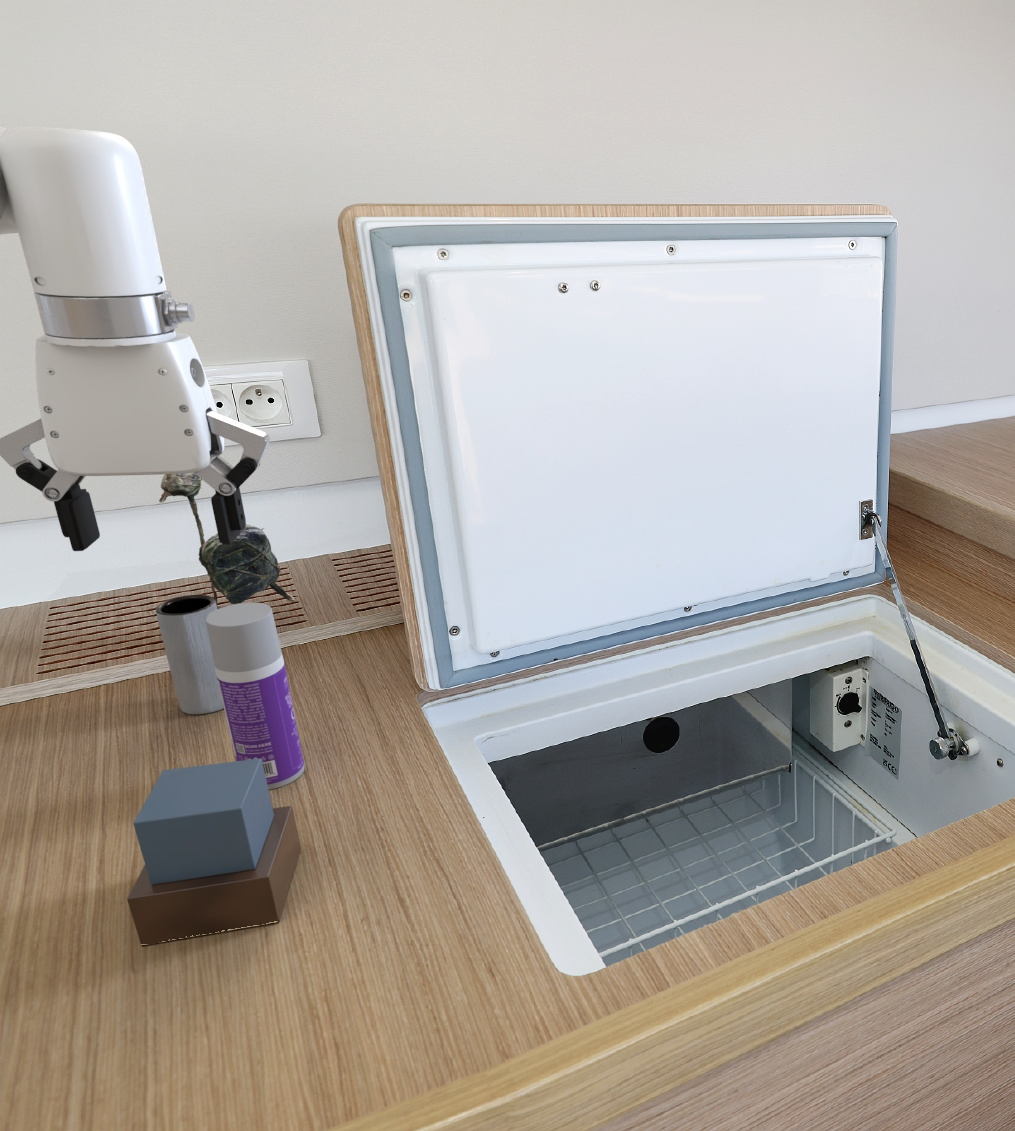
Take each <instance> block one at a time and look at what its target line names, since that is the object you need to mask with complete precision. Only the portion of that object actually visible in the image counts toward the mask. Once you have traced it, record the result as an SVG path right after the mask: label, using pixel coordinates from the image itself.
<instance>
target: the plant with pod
mask: <svg viewBox="0 0 1015 1131" xmlns="http://www.w3.org/2000/svg"><path fill="white" fill-rule="evenodd" d="M202 481H203V480H202V479H201V478H200V477H198V476H197V475H196V474H195V473H184V474H163V476H162V479H161V482H160V488H161V490H163V492H162V493H161V495H160V496H161V497H160V498H159V499H158V500H159V503H164V502H165V501H166V500H167V498H168V497H184V498H185V497H186V498H187V499H188V502H189V505H190V508H191V512H192V514H193V516H194V520H195V523H196V527H197V531H198V535H199V541H200V542H199V543H200V547H199V548H198V556H199V557H198V561H199V563H200V565H201V566H203V567H204V568H205V571H206V573H207V576H208V577H209V582H210V583H211V584H210V586H211V590H212V593H213V598H214V599H215V601H216V605H217V609H220V608H222V607H226V606H227V605H218V594H217V591H218V592H219V593H221V594H222V595H223V596H224V598H225V599H226V600H227V601H228V602H229V604H230V605H234V604H239V603H244V602H245V601H247V600H249V599H250V598H251V597H253V596H254V595H255V594H257V593H261V592H264V591H265V590H267V589H268V588H269V587H270V589H271V590H273V591H274V592H276V593H277V594H278V595H280V596H281V597H283V598H284V599H286V600H287V601H289V602H292V603H294V602H295V598H294V597H293V595H291V594H289V593H287V591H286V590H285V589H284V588H282V587H281V586H280V585H278V584H277V581H278V579H279V578H280V576H281V571H282V570H281V566H279V563H278V562H279V561H278V559H277V557H276V554H274V552H273V551H272V544H271V543H270V540H269V538H268V536H267V534H266V533H265V532H264V529H265V527H263V528H260V527H257V526H254V525H251V524H248V523H246V526H245V528H244V529H243V530H241V532H240V534H239V535H238V537H237V538H236V539H235V540H234V542H233V543H232V544H225V545H224V544H223V543H220V541H219V537H218V532H217V533H215V534H214V535H212V536H210V537H209V538H208V539H207V540H205V538H204V537H205V533H204V529H203V524H202V521H201V519H200V515H199V513H198V504H197V502H196V500H195V496H197V495H199V492H200V490H201V489H202V487H201V486H202Z"/></svg>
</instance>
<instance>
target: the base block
mask: <svg viewBox="0 0 1015 1131" xmlns="http://www.w3.org/2000/svg"><path fill="white" fill-rule="evenodd" d="M272 808H273V813H274V817H273V820H272V823H271V826H270V828H269V831H268V834H267V837H266V840H265V842H264V845H263V848H262V851H261V854H260V857H259V859H258V862H257V865H256V868H255V869H253V870H247V871H240V872H233V873H227V874H220V875H214V876H207V877H201V878H194V879H188V880H181V881H175V882H168V883H162V884H155V885H151V883H150V880H149V876H148V873H147V869H146V866H145V864H144V865H143V867H142V869H141V871H140V873H139V875H138V877H137V879H136V881H134V882H135V883H134V884H133V887H132V888H131V890H130V893H129V894H128V896H127V897H126V898H127V899H126V900H127V904H128V907H129V910H130V914H131V916H132V920H133V923H134V927H135V930H136V933H137V937H138V941H139V943H140V945H141V944H153V943H159V942H162V941H168V940H169V939H170V940H172V939H179V938H185V937H186V936H187V937H190V936H192V935H193V936H196V935H199V934H200V935H202V934H209V933H215V932H218V931H219V932H221V931H222V930H225V931H227V930H228V929H235V928H241V927H247V926H253V925H262V924H266V923H269V922H274V921H278V920H279V919H280V920H281V918H280V915H281V916H282V914H283V911H282V909H283V910H284V908H283V906H284V907H285V904H286V901H285V899H286V900H287V898H288V893H289V890H290V887H291V884H292V880H293V877H294V873H295V870H296V867H297V865H298V861H299V856H300V854H301V850H302V847H301V841H300V837H299V832H298V827H297V823H296V817H295V813H294V808H293V806H292V805H287V806H279V807H272ZM284 903H285V904H284ZM281 913H282V914H281ZM159 944H160V943H159ZM153 945H154V944H153Z"/></svg>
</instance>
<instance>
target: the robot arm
mask: <svg viewBox="0 0 1015 1131" xmlns="http://www.w3.org/2000/svg"><path fill="white" fill-rule="evenodd" d="M7 234H8V235H9V234H18V237H19V240H20V244H21V248H22V252H23V255H24V260H25V262H26V266H27V270H28V274H29V278H30V281H31V285H32V290H33V292H34V293H33V294H34V298H35V303H36V306H37V310H38V313H39V317H40V321H41V325H42V330H43V333H44V335H41V336H40V337H38V338H36V339H35V381H36V382H35V383H36V391H37V399H38V408H39V412H40V418H38V419H37V420H35V421H33V422H30V423H28V424H26V425H24V426H22V427H21V428H18V429H16V430H14V431H12V432H10V433H8V434H6V435H4V436H2V437H0V457H1V458H2V459H3V460H4V461H5V463H7V464H8V465H9V466H10V468H13V469H14V471H15V474H16V476H17V477H18V478H19V479H21V480H22V481H24V482H26V483H27V484H28V485H30V486H32V487H33V488H35V489H37V490H38V491H40V492H42V496H43V498H44V499H45V500H47V501H49V502H53V504H54V508H55V512H56V515H57V519H58V522H59V527H60V530H61V534H62V536H63V537H64V538H68V539H69V542H70V547H71V550H72V551H73V552H83V551H85V550H86V549H88V548H89V547H90V546H91V545H93V544H94V543H95V542H96V541H98V539H100V537H101V534H100V528H99V525H98V521H97V518H96V514H95V509H94V506H93V502H92V498H91V494H90V493H89V491H87V489H86V488H81V485H80V484H81V483H82V482H83V480H84V479H85V478H86V477H113V476H114V477H115V476H116V477H117V476H118V477H119V476H120V477H121V476H151V475H152V476H155V475H156V476H157V475H164V474H184V473H195V474H196V475H197V476H198V477H200V478H201V479H202V480H201V481H203V482H205V483H206V484H207V485H208V486H210V487H211V488H212V489H214V491H215V493H214V495H213V496H212V497H211V499H210V502H211V507H212V512H213V518H214V520H215V521H214V522H215V527H216V531H217V533H218V537H219V541H220V543H223V544H224V545H225V544H232V543H233V542H234V540H235V539H236V538H237V537H238V535H239V534H240V532H241V530H243V529H244V528H245V526H246V524H247V520H246V514H245V510H244V509H245V508H244V505H243V499H242V493H241V488H240V487H241V486H242V485H243V484H244V483H246V481H247V480H248V479H249V478H250V477H251V476H252V474H253V473H255V472H256V470H258V468H259V467H260V466H261V463H262V460H263V458H264V455H265V454H266V451H267V449H268V446H269V444H270V441H271V436H270V435H269V434H268V433H267V432H265V431H262V430H261V429H257V428H255V427H252V426H250V425H247V424H245V423H242V422H240V421H237V420H235V419H233V418H231V417H228V416H224V415H223V414H219V412H218V409H217V406H216V403H215V399H214V396H213V393H212V388H211V386H210V383H209V380H208V377H207V374H206V371H205V368H204V366H203V362H202V361H201V358H200V355H199V353H198V350H197V348H196V345H195V344H194V341H193V339H192V337H191V336H190V334H188V333H178V332H176V329H177V328H178V326H179V324H183V323H184V322H185V323H186V322H191V323H192V322H194V321H195V310H194V307H193V304H192V303H191V302H180V301H179V300H174V297H172V292H171V291H168V290H167V285H166V281H165V274H164V270H163V265H162V261H161V256H160V250H159V246H158V241H157V235H156V231H155V226H154V221H153V216H152V211H151V207H150V203H149V198H148V193H147V188H146V183H145V177H144V173H143V167H142V164H141V161H140V157H139V155H138V152H137V150H136V149H135V147H134V145H133V144H132V143H130V141H128V140H127V139H126V138H125V137H123V136H121V135H118V134H116V133H113V132H108V131H101V130H91V129H82V128H70V127H69V128H68V127H67V128H66V127H53V126H31V125H30V126H28V125H27V126H26V125H23V126H13V127H9V128H8V127H3V126H0V235H7ZM42 439H45V443H46V447H47V450H48V451H47V452H48V453H49V456H50V459H51V462H52V463H53V465H54V467H55V468H56V469H55V468H53V467H52V466H51V465H49V464H48V463H46V462H44V461H43V460H41V459H39V458H37V457H36V456H35V454H34V453H33V452H32V450H31V445H32V444H34V443H37V442H39V441H40V440H42ZM225 439H226V440H229V441H232V442H233V443H237V444H239V445H240V446H241V447H242V449H243V452H242V453H241V456H240V459H239V461H238V462H237V463H236V465H235V466H233V465H232V464H230V463H229V462H228V461H227V460H225V459H224V458H223V457H222V456H221V455H222V454H223V453H224V451H225Z"/></svg>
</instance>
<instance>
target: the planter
mask: <svg viewBox="0 0 1015 1131" xmlns="http://www.w3.org/2000/svg"><path fill="white" fill-rule="evenodd" d="M217 606H218V604H217V605H216V601H215V599H214V596H211V595H206V594H188V595H182V596H176V597H172V598H170V599H166V600H165V601H163V602H160V604H158V605H157V606H156V607H155V615H156V618H157V623H158V626H159V630H160V635H161V638H162V639H161V640H162V642H163V643H162V644H163V647H164V651H165V655H166V659H167V663H168V667H169V672H170V675H171V679H172V683H173V688H174V691H175V696H176V698H177V699H176V700H177V703H178V706H179V709H180V711H181V712H182V713H185V714H188V715H207V714H211V713H215V712H219V711H221V710H224V706H223V702H222V698H221V694H220V689H219V685H218V681H217V676H216V671H215V665H214V660H213V655H212V650H211V645H210V640H209V635H208V630H207V624H206V617H207V616H208V615H209V614H210V613H211V612H213V611H215V610H217Z"/></svg>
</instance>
